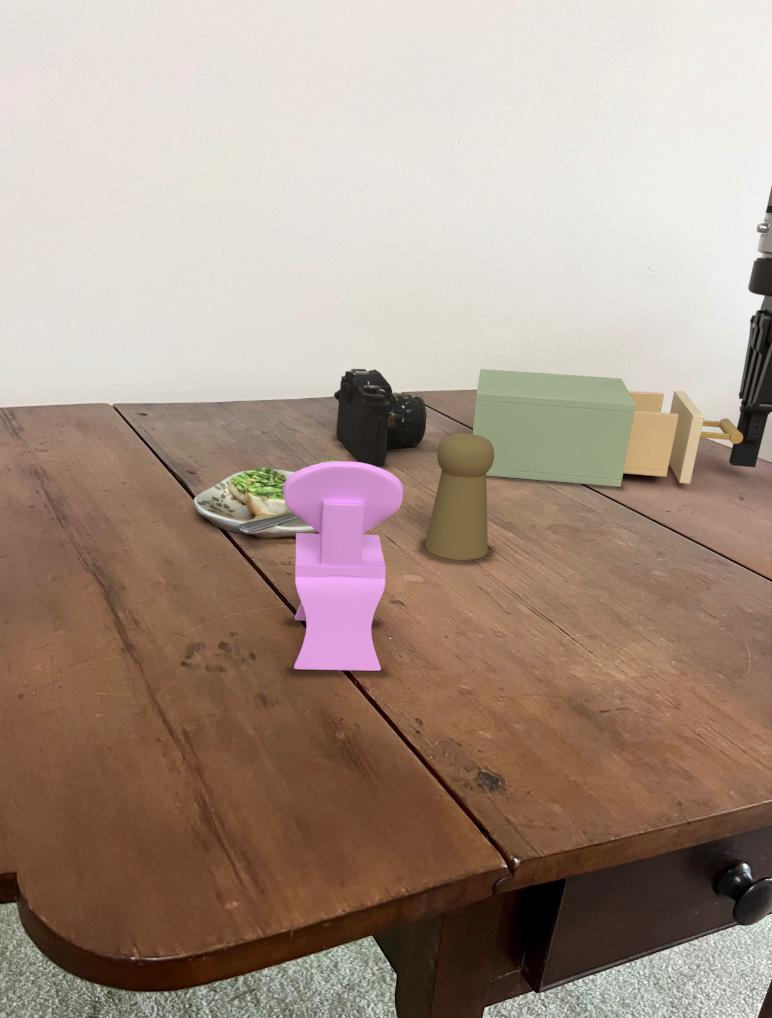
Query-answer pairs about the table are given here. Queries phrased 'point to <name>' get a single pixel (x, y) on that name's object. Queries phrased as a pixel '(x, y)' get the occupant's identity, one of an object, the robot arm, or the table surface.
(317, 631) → the toy chair
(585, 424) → the cabinet
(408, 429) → the film camera
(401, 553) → the table surface
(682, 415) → the drawer
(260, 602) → the table surface
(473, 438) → the cork
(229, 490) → the salad plate
